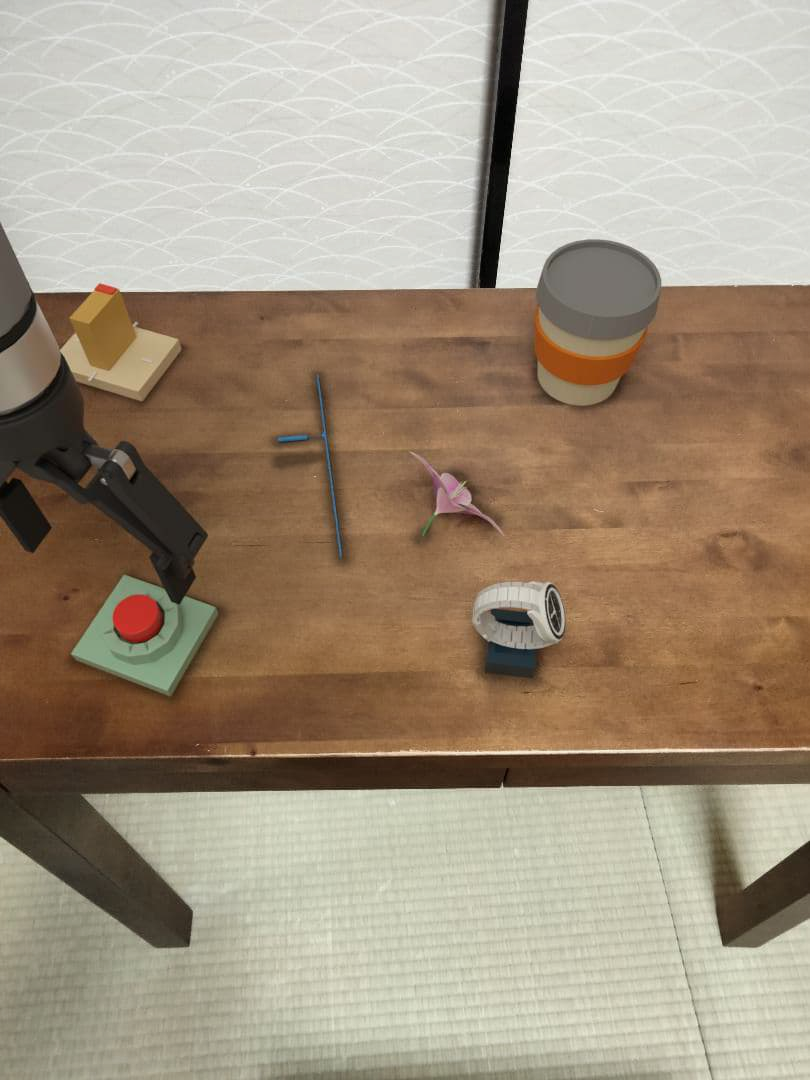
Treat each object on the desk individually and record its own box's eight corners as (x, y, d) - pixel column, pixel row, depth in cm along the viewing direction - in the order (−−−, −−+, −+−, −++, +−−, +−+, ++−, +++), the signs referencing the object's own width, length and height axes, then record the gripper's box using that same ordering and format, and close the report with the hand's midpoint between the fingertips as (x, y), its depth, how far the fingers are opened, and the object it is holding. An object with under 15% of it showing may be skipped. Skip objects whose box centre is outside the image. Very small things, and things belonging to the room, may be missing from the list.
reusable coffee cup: (600, 334, 100) (629, 227, 87) (649, 407, 93) (687, 303, 80) (505, 357, 97) (520, 251, 85) (548, 433, 91) (571, 330, 78)
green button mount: (78, 664, 75) (63, 644, 72) (130, 585, 80) (118, 564, 77) (173, 700, 74) (162, 682, 70) (220, 617, 78) (212, 597, 75)
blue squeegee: (288, 561, 80) (341, 555, 80) (272, 377, 93) (318, 374, 94) (290, 568, 81) (342, 563, 82) (274, 386, 95) (318, 383, 95)
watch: (552, 685, 74) (573, 630, 65) (464, 674, 75) (473, 618, 66) (554, 630, 77) (574, 570, 68) (469, 620, 78) (478, 559, 69)
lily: (499, 586, 81) (539, 508, 76) (390, 571, 77) (425, 488, 72) (465, 516, 90) (499, 442, 85) (366, 499, 86) (396, 421, 81)
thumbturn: (108, 371, 93) (88, 322, 87) (90, 365, 93) (68, 316, 87) (136, 336, 96) (118, 287, 90) (118, 331, 96) (99, 281, 90)
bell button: (109, 634, 73) (103, 625, 72) (132, 597, 75) (127, 588, 74) (148, 648, 72) (142, 639, 71) (171, 611, 74) (166, 602, 73)
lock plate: (52, 383, 95) (43, 366, 93) (100, 326, 100) (93, 309, 98) (141, 410, 93) (135, 394, 91) (186, 351, 98) (181, 334, 96)
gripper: (217, 385, 48) (269, 572, 65) (-126, 286, 53) (8, 486, 70) (151, 480, 44) (225, 652, 62) (-212, 364, 49) (-47, 554, 67)
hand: (110, 564), depth 66 cm, fingers open, 13 cm apart
